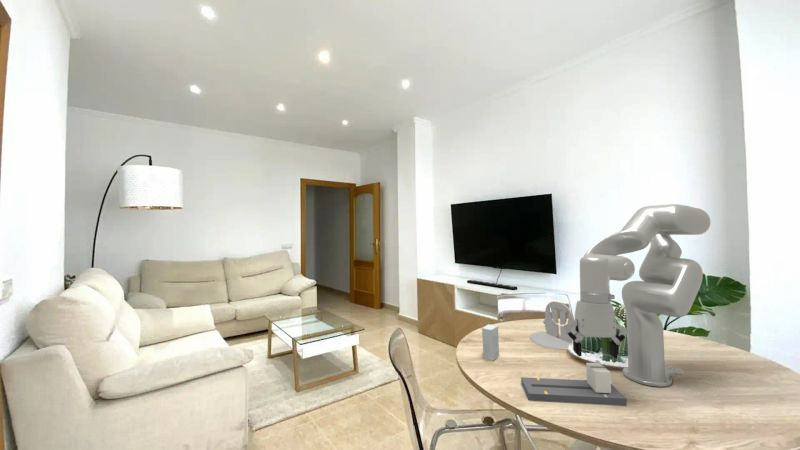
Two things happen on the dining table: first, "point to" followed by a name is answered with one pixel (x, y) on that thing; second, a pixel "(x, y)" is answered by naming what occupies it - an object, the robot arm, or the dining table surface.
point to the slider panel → (569, 392)
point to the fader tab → (598, 377)
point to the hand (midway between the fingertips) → (595, 355)
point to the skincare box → (490, 342)
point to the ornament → (554, 328)
